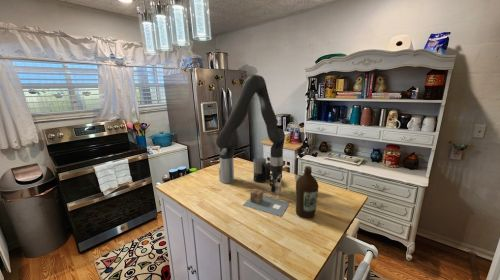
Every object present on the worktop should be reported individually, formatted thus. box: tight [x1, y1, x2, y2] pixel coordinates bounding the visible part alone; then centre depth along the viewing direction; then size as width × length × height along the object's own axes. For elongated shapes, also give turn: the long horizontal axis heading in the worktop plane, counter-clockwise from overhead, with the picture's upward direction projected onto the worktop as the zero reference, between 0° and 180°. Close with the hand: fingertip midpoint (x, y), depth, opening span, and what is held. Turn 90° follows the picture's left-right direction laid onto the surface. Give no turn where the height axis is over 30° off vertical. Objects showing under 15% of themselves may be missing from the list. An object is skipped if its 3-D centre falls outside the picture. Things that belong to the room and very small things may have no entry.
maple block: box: [270, 182, 282, 197], centre depth 125 cm, size 5×5×6 cm
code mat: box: [242, 195, 290, 217], centre depth 114 cm, size 22×14×1 cm, turn 62°
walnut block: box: [249, 188, 264, 204], centre depth 116 cm, size 5×5×6 cm
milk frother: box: [252, 157, 272, 183], centre depth 144 cm, size 14×16×15 cm
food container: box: [294, 173, 316, 183], centre depth 126 cm, size 12×6×10 cm, turn 62°
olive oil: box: [295, 165, 319, 220], centre depth 102 cm, size 11×11×25 cm
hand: (275, 188), depth 125 cm, fingers open, 8 cm apart
